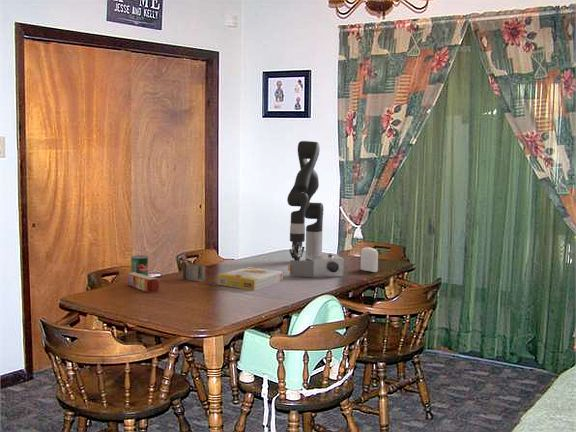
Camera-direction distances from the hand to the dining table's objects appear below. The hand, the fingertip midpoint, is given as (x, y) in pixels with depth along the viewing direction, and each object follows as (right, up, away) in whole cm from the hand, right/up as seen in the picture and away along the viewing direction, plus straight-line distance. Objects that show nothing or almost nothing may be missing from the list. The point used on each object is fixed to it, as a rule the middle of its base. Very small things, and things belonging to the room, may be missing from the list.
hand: (296, 266), depth 360 cm
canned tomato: (-76, -5, -17) cm, 78 cm away
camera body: (+14, -5, +4) cm, 15 cm away
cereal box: (-22, -7, -21) cm, 31 cm away
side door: (+2, -5, -4) cm, 6 cm away
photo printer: (+38, -4, +17) cm, 42 cm away
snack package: (-70, -8, -39) cm, 80 cm away
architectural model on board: (-50, -6, -16) cm, 53 cm away
